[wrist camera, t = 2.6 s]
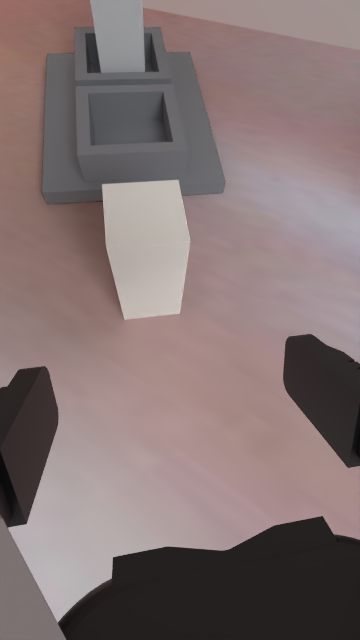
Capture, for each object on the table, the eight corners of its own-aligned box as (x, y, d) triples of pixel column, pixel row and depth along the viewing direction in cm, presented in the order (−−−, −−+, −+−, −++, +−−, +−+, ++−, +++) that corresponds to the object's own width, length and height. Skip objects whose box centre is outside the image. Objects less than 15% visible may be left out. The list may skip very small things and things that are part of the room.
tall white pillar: (172, 267, 29) (178, 179, 20) (179, 313, 27) (190, 240, 18) (120, 271, 28) (101, 184, 19) (124, 319, 27) (106, 247, 17)
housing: (188, 65, 42) (198, -66, 32) (222, 193, 33) (252, 69, 23) (50, 67, 40) (12, -72, 29) (47, 204, 31) (-11, 75, 20)
